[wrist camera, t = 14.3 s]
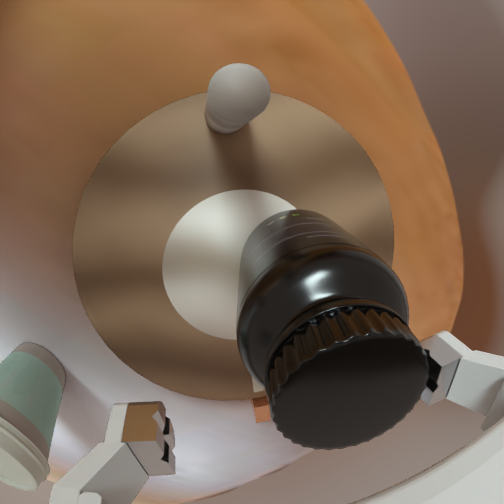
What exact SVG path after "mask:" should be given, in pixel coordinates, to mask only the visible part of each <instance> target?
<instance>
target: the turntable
mask: <svg viewBox="0 0 504 504" xmlns="http://www.w3.org/2000/svg"><path fill="white" fill-rule="evenodd" d="M293 209H304V210H310V211H314V212H317V213H320V214H322V215H324V216H326V217H328V218H329V219H331V220H332V221H334V222H335V223H337V224H338V225H339V226H341V227H342V228H343V229H345V230H346V231H347V232H348V233H350V234H351V235H352V236H354V237H355V238H356V239H357V240H359V241H360V242H361V243H363V244H364V245H365V246H366V247H368V248H369V249H370V250H371V251H373V252H374V253H375V254H376V255H378V256H379V257H380V258H381V259H382V260H383V261H385V262H386V263H387V264H388V265H389V266H390V267H392V261H393V251H394V225H393V219H392V212H391V206H390V203H389V199H388V196H387V193H386V189H385V187H384V184H383V182H382V180H381V178H380V175H379V173H378V171H377V169H376V167H375V166H374V164H373V163H372V161H371V159H370V158H369V156H368V155H367V153H366V152H365V150H364V149H363V148H362V147H361V146H360V144H359V143H358V142H357V141H356V140H355V139H354V137H353V136H352V135H351V134H350V133H349V132H347V131H346V130H345V129H344V128H343V127H342V126H341V125H339V124H338V123H337V122H336V121H335V120H333V119H332V118H330V117H329V116H327V115H326V114H324V113H322V112H321V111H319V110H318V109H316V108H314V107H312V106H310V105H308V104H305V103H303V102H301V101H299V100H297V99H294V98H290V97H287V96H284V95H280V94H277V93H273V92H271V89H270V85H269V82H268V80H267V78H266V77H265V75H264V74H263V73H262V72H261V71H260V70H258V69H257V68H255V67H253V66H251V65H248V64H243V63H235V64H230V65H227V66H224V67H223V68H221V69H219V70H218V71H217V72H216V73H215V74H214V75H213V77H212V78H211V80H210V83H209V86H208V92H205V93H200V94H196V95H193V96H190V97H187V98H184V99H181V100H178V101H175V102H172V103H170V104H168V105H166V106H164V107H162V108H160V109H158V110H157V111H155V112H153V113H151V114H149V115H148V116H147V117H145V118H144V119H142V120H141V121H140V122H138V123H137V124H135V125H134V126H133V127H131V128H130V129H129V130H128V131H127V132H126V133H125V134H124V135H123V136H122V137H121V138H120V139H119V140H118V141H117V142H116V143H115V144H114V145H113V146H112V147H111V148H110V149H109V151H108V152H107V153H106V155H105V156H104V157H103V159H102V160H101V161H100V163H99V164H98V165H97V167H96V169H95V171H94V173H93V174H92V176H91V178H90V180H89V182H88V184H87V186H86V188H85V190H84V193H83V196H82V199H81V201H80V204H79V207H78V211H77V216H76V220H75V225H74V231H73V248H72V256H73V267H74V275H75V280H76V284H77V288H78V292H79V296H80V298H81V301H82V304H83V306H84V309H85V311H86V313H87V315H88V317H89V319H90V321H91V323H92V324H93V326H94V328H95V330H96V331H97V333H98V334H99V335H100V337H101V338H102V339H103V341H104V342H105V343H106V345H107V346H108V347H109V348H110V349H111V350H112V351H113V352H114V353H115V354H116V355H117V356H118V357H119V358H120V359H121V360H122V361H123V362H124V363H125V364H126V365H128V366H129V367H130V368H131V369H133V370H134V371H135V372H137V373H138V374H140V375H141V376H143V377H145V378H146V379H148V380H150V381H151V382H153V383H155V384H158V385H160V386H162V387H164V388H167V389H169V390H171V391H175V392H178V393H181V394H184V395H187V396H192V397H197V398H203V399H211V400H245V399H252V398H259V397H263V396H267V393H266V390H265V388H263V387H262V386H261V385H260V384H259V383H258V382H257V381H256V380H255V379H254V378H253V377H252V376H251V375H250V373H249V372H248V371H247V369H246V368H245V366H244V364H243V362H242V359H241V357H240V354H239V350H238V346H237V336H236V322H237V304H238V287H239V270H240V261H241V255H242V251H243V248H244V245H245V243H246V241H247V239H248V237H249V236H250V234H251V233H252V231H253V230H254V229H255V228H256V227H257V226H258V225H259V224H260V223H261V222H263V221H264V220H265V219H267V218H269V217H270V216H272V215H274V214H277V213H279V212H282V211H286V210H293Z"/></svg>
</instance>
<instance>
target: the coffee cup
mask: <svg viewBox="0 0 504 504" xmlns="http://www.w3.org/2000/svg"><path fill="white" fill-rule="evenodd" d="M65 382H66V376H65V372H64V369H63V367H62V365H61V364H60V362H59V361H58V360H57V358H56V357H55V356H54V355H53V354H52V353H50V352H49V351H48V350H47V349H45V348H43V347H41V346H39V345H37V344H34V343H23V344H21V345H19V346H18V347H17V348H16V349H15V350H14V351H13V352H12V353H11V354H10V355H9V356H8V357H7V358H6V359H4V360H3V361H2V362H1V363H0V481H2V482H4V483H6V484H8V485H10V486H13V487H15V488H18V489H21V490H26V491H33V490H35V489H37V487H38V486H39V485H40V483H41V482H43V481H44V480H46V478H47V475H48V474H49V473H50V467H49V464H48V457H49V452H50V446H51V441H52V436H53V431H54V427H55V422H56V418H57V414H58V409H59V405H60V401H61V398H62V394H63V390H64V386H65Z"/></svg>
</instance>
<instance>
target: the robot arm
mask: <svg viewBox="0 0 504 504" xmlns="http://www.w3.org/2000/svg"><path fill="white" fill-rule="evenodd" d="M419 342H420V343H421V346H422V348H423V349H424V350H425V352H426V354H427V362H428V363H429V370H428V375H429V378H428V380H427V382H426V388H425V390H424V391H423V392H422V394H421V398H422V400H423V401H424V402H425V403H426V404H427V405H428V406H430V405H432V404H434V403H436V402H438V401H440V400H442V399H444V398H446V397H447V399H448V400H450V401H453V402H455V403H457V404H460V405H462V406H464V407H467V408H469V409H471V410H474V411H476V412H478V413H481V414H483V415H485V416H486V417H485V419H484V421H483V423H482V424H481V429H482V430H483V431H484V432H483V433H482V434H480V435H479V436H478V437H477V438H475V439H473V440H472V441H470V442H469V443H468V444H466V445H465V446H463V447H462V448H460V449H459V450H457V451H456V452H454V453H452V454H451V455H449V456H447V457H446V458H444V459H443V460H441V461H439V462H437V463H436V464H434V465H432V466H430V467H429V468H427V469H425V470H423V471H421V472H420V473H418V474H416V475H414V476H412V477H410V478H408V479H406V480H404V481H402V482H400V483H398V484H396V485H394V486H391V487H389V488H387V489H385V490H382V491H380V492H378V493H375V494H373V495H371V496H368V497H366V498H363V499H361V500H358V501H355V502H353V503H350V504H504V357H503V356H498V355H493V354H489V353H485V352H481V351H476V350H475V351H471V350H470V349H469V348H468V347H467V346H465V345H464V344H463V343H462V342H460V341H459V340H458V339H456V338H455V337H454V336H453V335H451V334H450V333H449V332H448V331H441V332H439V333H437V334H434V335H433V336H430V337H427V338H425V339H422V340H420V341H419ZM165 411H166V409H165V407H164V405H163V403H162V402H161V401H155V402H133V403H115V404H114V405H113V406H112V408H111V412H110V417H109V421H108V425H107V430H106V434H105V439H104V442H99V443H98V444H97V445H96V446H95V447H94V448H93V449H92V450H91V451H90V452H89V453H88V454H87V455H86V456H84V457H83V458H82V459H81V460H80V461H79V462H78V463H77V464H76V465H75V466H74V467H73V468H72V469H71V470H69V471H68V472H67V473H66V474H65V475H64V476H63V477H62V478H61V479H60V480H59V481H57V482H56V483H55V484H54V485H53V488H52V492H51V496H50V500H49V504H131V503H132V501H133V500H134V499H135V497H136V496H137V494H138V493H139V491H140V490H141V488H142V487H143V485H144V484H145V482H146V481H147V480H148V478H149V476H155V475H171V474H175V456H174V454H173V452H172V449H173V448H174V447H175V436H174V430H173V426H172V423H171V421H170V419H169V418H167V417H166V416H165Z"/></svg>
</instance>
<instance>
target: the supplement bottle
mask: <svg viewBox="0 0 504 504" xmlns="http://www.w3.org/2000/svg"><path fill="white" fill-rule="evenodd" d="M408 324H409V306H408V300H407V296H406V292H405V290H404V287H403V285H402V283H401V281H400V279H399V277H398V276H397V275H396V273H395V272H394V271H393V270H392V269H391V267H390V266H389V265H388V264H387V263H386V262H385V261H383V260H382V259H381V258H380V257H379V256H378V255H376V254H375V253H374V252H373V251H371V250H370V249H369V248H368V247H366V246H365V245H364V244H363V243H361V242H360V241H359V240H357V239H356V238H355V237H354V236H352V235H351V234H350V233H348V232H347V231H346V230H345V229H343V228H342V227H341V226H339V225H338V224H337V223H335V222H334V221H332V220H331V219H329V218H328V217H326V216H324V215H322V214H320V213H317V212H314V211H310V210H304V209H293V210H286V211H282V212H279V213H277V214H274V215H272V216H270V217H269V218H267V219H265V220H264V221H263V222H261V223H260V224H259V225H258V226H257V227H256V228H255V229H254V230H253V231H252V233H251V234H250V236H249V237H248V239H247V241H246V243H245V245H244V248H243V251H242V255H241V261H240V270H239V287H238V304H237V322H236V336H237V346H238V350H239V354H240V357H241V359H242V362H243V364H244V366H245V368H246V369H247V371H248V372H249V373H250V375H251V376H252V377H253V378H254V379H255V380H256V381H257V382H258V383H259V384H260V385H261V386H262V387H263V388H265V390H266V393H267V396H268V398H269V405H270V413H271V418H272V420H273V421H274V422H275V425H276V428H277V430H279V431H280V432H282V433H283V436H284V437H285V438H288V439H290V440H291V441H292V442H293V443H295V444H300V445H301V446H303V447H310V448H313V449H326V450H331V449H335V448H336V449H342V448H346V447H348V446H356V445H358V444H360V443H363V442H367V441H369V440H371V439H373V438H375V437H377V436H380V435H381V434H383V433H384V432H386V431H387V430H389V429H391V428H393V427H394V426H395V425H396V424H397V423H398V422H400V421H401V420H402V419H404V418H405V416H406V415H407V414H408V413H409V412H410V411H411V410H412V409H413V407H414V406H415V404H416V403H417V402H418V401H419V400H420V398H421V394H422V392H423V391H424V390H425V388H426V382H427V380H428V378H429V375H428V370H429V363H428V362H427V354H426V352H425V350H424V349H423V348H422V346H421V343H420V342H419V340H418V339H417V338H416V337H415V336H414V334H413V333H412V332H411V330H410V328H409V326H408Z"/></svg>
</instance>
